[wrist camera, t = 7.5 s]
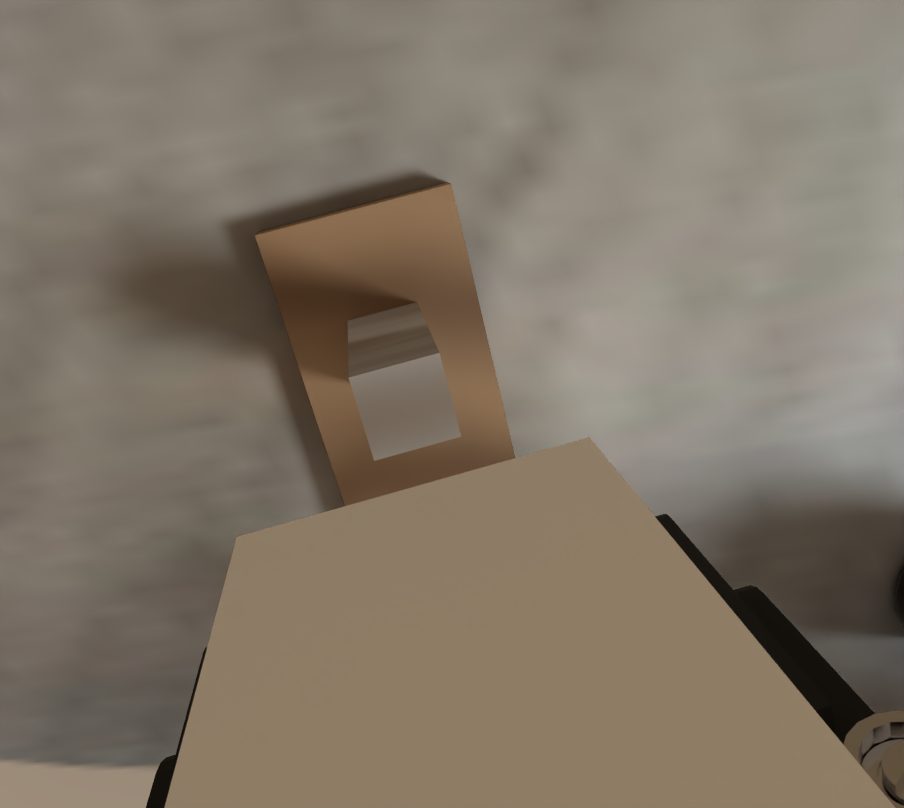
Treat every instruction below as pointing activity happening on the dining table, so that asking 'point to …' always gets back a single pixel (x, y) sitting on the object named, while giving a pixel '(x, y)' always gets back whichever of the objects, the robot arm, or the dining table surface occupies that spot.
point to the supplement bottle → (900, 598)
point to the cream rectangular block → (495, 662)
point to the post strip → (372, 281)
